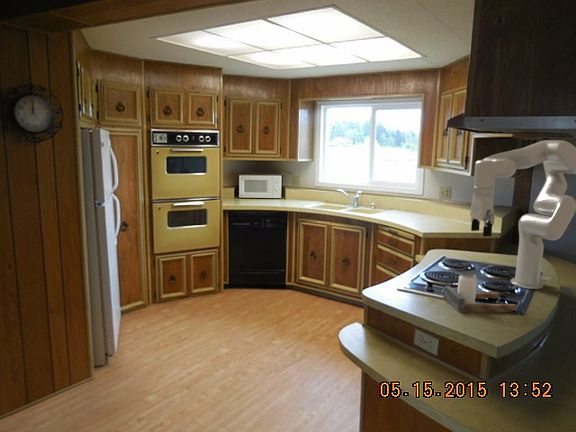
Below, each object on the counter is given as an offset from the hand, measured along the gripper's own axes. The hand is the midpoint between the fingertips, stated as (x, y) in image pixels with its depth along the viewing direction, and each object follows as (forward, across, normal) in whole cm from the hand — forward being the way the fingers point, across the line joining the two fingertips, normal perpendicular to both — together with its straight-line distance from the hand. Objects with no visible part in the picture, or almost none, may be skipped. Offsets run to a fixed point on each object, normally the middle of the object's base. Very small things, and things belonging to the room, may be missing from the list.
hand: (480, 233), depth 175 cm
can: (+25, +14, -11) cm, 31 cm away
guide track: (+25, +13, -6) cm, 29 cm away
